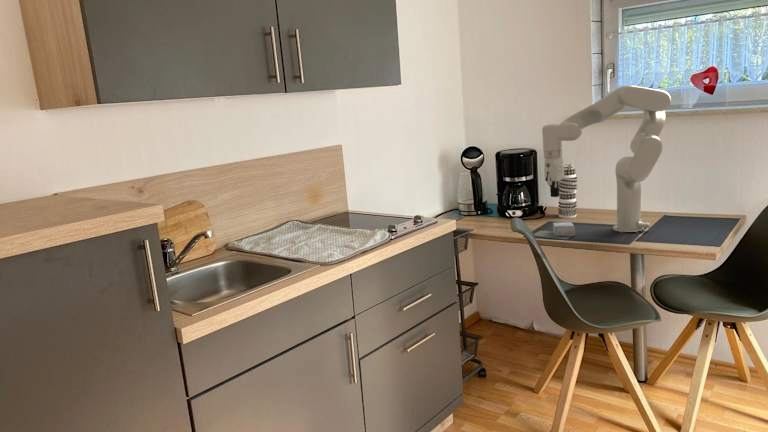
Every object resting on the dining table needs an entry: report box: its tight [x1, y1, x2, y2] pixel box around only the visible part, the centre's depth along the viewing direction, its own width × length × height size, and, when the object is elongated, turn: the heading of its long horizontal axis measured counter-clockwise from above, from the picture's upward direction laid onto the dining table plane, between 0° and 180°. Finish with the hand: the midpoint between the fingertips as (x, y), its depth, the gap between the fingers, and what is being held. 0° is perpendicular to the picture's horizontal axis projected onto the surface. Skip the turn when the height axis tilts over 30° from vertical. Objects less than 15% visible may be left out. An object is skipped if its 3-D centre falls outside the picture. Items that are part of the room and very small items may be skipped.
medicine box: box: [552, 221, 576, 237], centre depth 263 cm, size 8×4×9 cm
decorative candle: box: [557, 163, 578, 219], centre depth 294 cm, size 9×9×25 cm
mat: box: [533, 230, 573, 241], centre depth 264 cm, size 16×9×1 cm, turn 50°
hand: (555, 196), depth 261 cm, fingers closed
